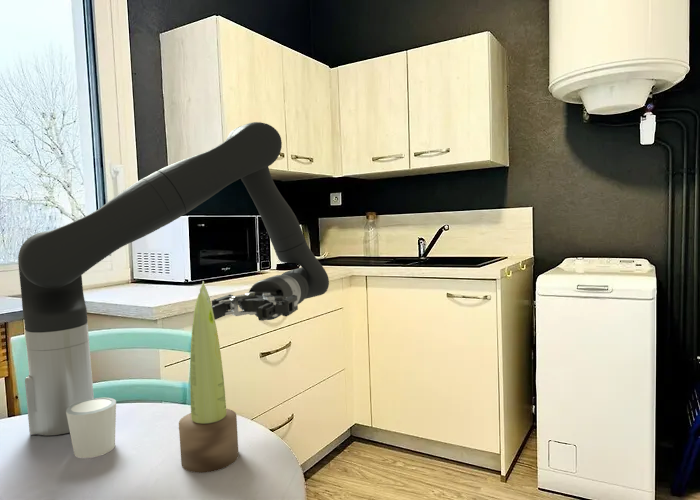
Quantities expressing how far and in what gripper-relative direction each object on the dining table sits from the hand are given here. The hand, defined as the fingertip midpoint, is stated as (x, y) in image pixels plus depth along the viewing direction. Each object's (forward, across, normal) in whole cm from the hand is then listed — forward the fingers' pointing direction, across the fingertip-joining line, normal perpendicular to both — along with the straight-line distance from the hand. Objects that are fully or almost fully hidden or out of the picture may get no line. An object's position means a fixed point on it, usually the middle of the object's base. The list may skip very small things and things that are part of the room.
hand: (235, 313), depth 82 cm
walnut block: (+10, 0, +19) cm, 22 cm away
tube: (+10, 0, +13) cm, 17 cm away
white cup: (+11, -19, +19) cm, 29 cm away
